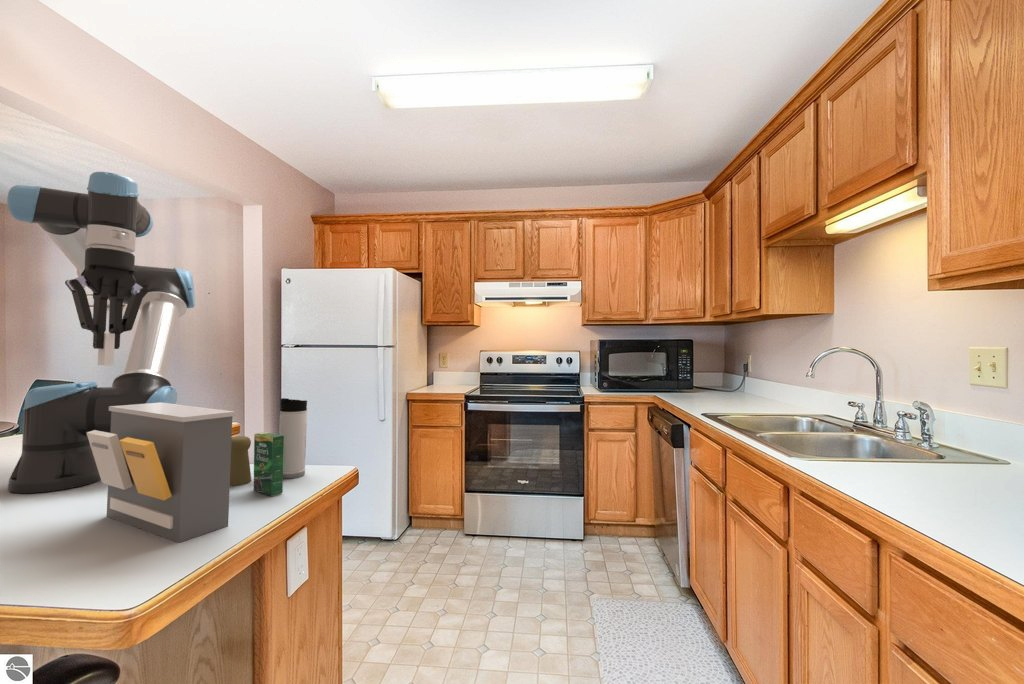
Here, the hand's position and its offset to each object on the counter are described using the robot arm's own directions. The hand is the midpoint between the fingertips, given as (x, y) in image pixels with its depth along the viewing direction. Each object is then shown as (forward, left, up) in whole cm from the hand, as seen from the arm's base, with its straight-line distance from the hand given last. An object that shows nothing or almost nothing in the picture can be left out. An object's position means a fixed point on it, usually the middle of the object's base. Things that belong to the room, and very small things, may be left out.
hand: (105, 365), depth 89 cm
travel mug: (+32, +16, -29) cm, 46 cm away
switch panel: (+17, -12, -28) cm, 35 cm away
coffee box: (+30, +3, -29) cm, 42 cm away
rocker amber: (+18, -20, -21) cm, 34 cm away
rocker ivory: (+9, -12, -21) cm, 26 cm away
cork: (+21, +12, -29) cm, 37 cm away
